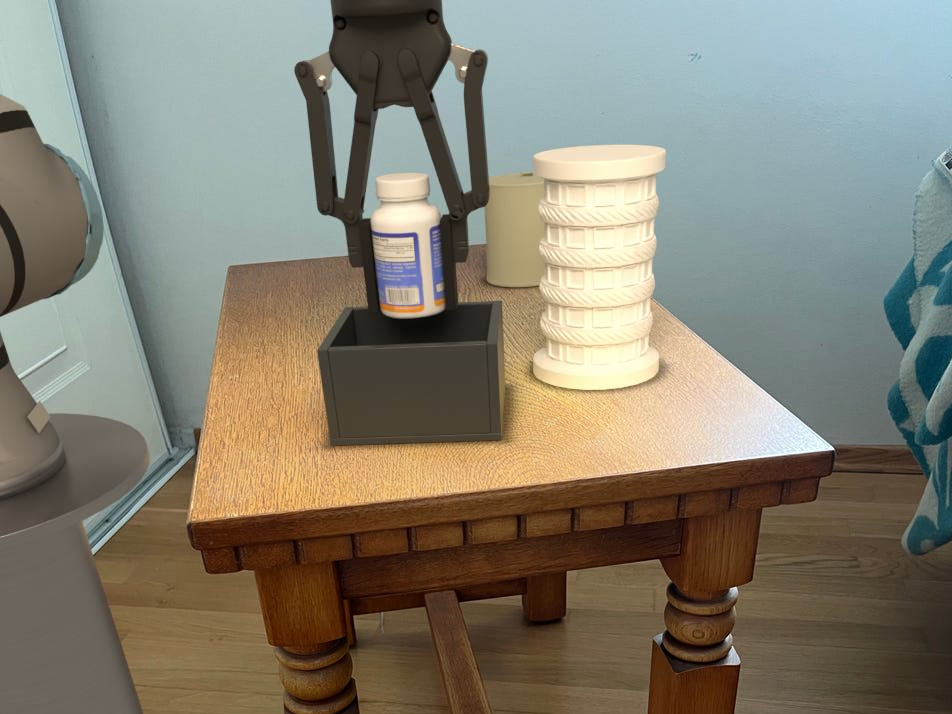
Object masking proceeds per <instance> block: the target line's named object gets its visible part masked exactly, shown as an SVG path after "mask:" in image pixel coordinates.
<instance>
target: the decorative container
mask: <svg viewBox="0 0 952 714" xmlns="http://www.w3.org/2000/svg"><path fill="white" fill-rule="evenodd" d="M666 157H667V151H666V148H663V147H661V146H656V145H648V144H647V145H646V144H625V143H624V144H593V145H592V144H591V145H579V146H577V145H576V146H570V147H561V148H553V149H549V150H544V151H539V152H537V153H535V154H534V155H533V157H532V162H533V163H532V165H533V166H532V167H533V173H534V174H535V175H536V176H538V177H541V178H544V197H543V198H541V199H540V202H539V206H538V211H539V215H540V219H541V220H542V221H544V229H545V236H544V237H543V238H541V241H540V245H539V252H540V258H541V259H542V260H543V261H544V262H545V275H544V276H542V278H541V282H540V286H538V287H539V292H540V297H541V298H542V299H543V300H544V301H545V302H544V303H545V304H544V306H545V308H544V309H545V310H544V311H543V312H542V313H541V317H540V321H539V327H540V330H541V334H542V335H543V336H544V338H545V346H543V347H541V348H540V349H538V350H537V351H536V352H535V353H534V354H533V358H532V371H533V372H532V373H533V374H534V376H535V378H537V379H538V380H539V381H541V382H542V383H545V384H548V385H551V386H554V387H558V388H563V389H570V390H583V391H604V390H612V389H613V390H615V389H622V388H626V387H627V388H628V387H631V386H636V385H640V384H643V383H644V382H647V381H649V380H650V379H652V378H654V377H656V375H657V374H658V372H659V371H660V370H659V368H660V352H659V351H658V350H657V349H656V348H655V347H653V346H651V345H649V343H650V341H649V339H650V333H651V331H652V329H653V324H654V316H653V311H652V310H651V301H652V298H651V297H652V295H653V294H654V290H655V287H656V280H655V275H654V273H653V257H654V256H656V251H657V249H658V241H657V236H656V234H655V217H656V216H658V211H659V208H660V201H659V196H658V193H657V175H658V173H660V172H662V171H664V170H665V169H666Z"/></svg>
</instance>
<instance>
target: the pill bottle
mask: <svg viewBox="0 0 952 714" xmlns="http://www.w3.org/2000/svg"><path fill="white" fill-rule="evenodd" d="M430 192H431V185H430V177H429V175H428V174H427V173H424V172H398V173H397V172H396V173H389V174H383V175H380V176H377V177H376V178H375V196H376V198H377V200H378V201H380V206H379V207H378V208H376V209H375V210H374V211H373V212H372V214H371V215H370V218H371V219H370V222H371V233H372V242H373V250H374V259H375V268H376V277H377V286H378V295H379V303H380V309H381V312H382V313H383V314H384V315H386V316H388V317H391V318H397V319H412V318H422V317H428V316H432V315H436V314H439V313H441V312H442V311H444V310H445V308H446V299H445V285H444V271H443V257H442V243H441V229H440V220H441V217H442V215H441V212H440V210H439V209H438V208H437V207H436V206H435V205H433V204H431V203H429V201H428V198H429V197H430V195H431V193H430Z"/></svg>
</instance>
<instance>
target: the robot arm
mask: <svg viewBox="0 0 952 714" xmlns="http://www.w3.org/2000/svg"><path fill="white" fill-rule="evenodd" d="M329 1H330V9H331V18H332V35H331V39H330V42H329V45H328V50H327V51H326V52H324V53H322V54H319V55H318V56H316V57H313V58H311V59H306V60H301V61H298V62H297V63H296V64H295V66H294V70H293V71H294V75H295V78H296V80H297V83H298V85H299V87H300V90H301V93H302V94H303V97H304V99H305V103H306V113H307V122H308V132H309V133H308V134H309V143H310V152H311V160H312V161H311V162H312V170H313V180H314V181H313V182H314V188H315V189H314V190H315V201H316V207H317V211H318V212H319V214H321V215H322V216H325V217H327V216H329V217H332V218H335V219H338V220H339V221H340V222H341V223H342V224H343V226H344V232H345V239H346V246H347V255H348V262H349V264H350V266H351V268H352V269H353V268H356V269H357V268H362V269H363V278H364V285H365V295H366V302H367V306H368V312H369V314H378V313H379V311H380V303H379V295H378V286H377V277H376V268H375V259H374V250H373V242H372V233H371V222H370V219H371V217H365V218H364V217H363V214H364V212H365V208H364V207H365V206H364V205H365V201H366V194H367V188H368V179H369V174H370V166H371V160H372V152H373V146H374V145H373V144H374V137H375V130H376V124H377V120H378V115H379V110H383V109H386V108H389V107H392V106H397V107H402V108H413V110H414V113H415V116H416V118H417V121H418V123H419V126H420V128H421V131H422V134H423V138H424V140H425V143H426V147H427V149H428V152H429V155H430V159H431V162H432V165H433V167H434V171H435V174H436V177H437V179H438V183H439V185H440V186H439V187H440V189H441V192H442V195H443V198H444V201H445V204H446V206H447V207H446V208H447V210H448V213H447V214H445V213H444V214H442V215H441V220H440V229H441V243H442V257H443V271H444V285H445V299H446V311H451V310H456V308H457V304H458V302H459V293H458V292H459V291H458V277H457V263H466V262H467V260H468V258H469V254H470V243H469V241H470V240H469V225H468V217H469V215H470V214H471V213H472V212H474V211H476V210H478V209H482V208H485V206H486V205H487V203H488V201H489V197H490V187H489V177H490V176H489V174H490V173H489V163H488V162H489V161H488V153H487V152H488V150H487V137H486V124H485V111H484V110H485V109H484V98H483V97H484V95H483V85H484V81H485V76H486V74H487V73H486V72H487V68H488V64H489V56H488V53H487V52H486V51H485V50H483V49H476V50H475V49H471V48H469V47H466V46H462V45H459V44H456V43H453V41H452V37H451V36H450V34H449V32H448V30H447V28H446V24H445V22H444V13H443V0H329ZM448 61H450V62H451V63H452V64H453V66H454V71H455V72H454V73H455V78H456V80H457V81H458V82H459V83H461V84H463V105H464V107H463V108H464V119H465V130H466V140H467V153H468V162H469V163H468V164H469V175H470V177H469V178H470V187H471V190H468V191H466V192H464V190H463V186H462V183H461V180H460V178H459V177H460V176H459V175H458V174H459V173H458V171H457V168H456V163H455V161H454V159H453V155H452V152H451V149H450V146H449V142H448V139H447V136H446V134H445V130H444V127H443V123H442V120H441V118H440V114H439V110H438V106H437V102H436V100H435V96H434V94H433V93H434V92H433V89H434V88H435V86H436V84H437V82H438V80H439V78H440V76H441V75H442V73H443V70H444V69H445V67H446V65H447V63H448ZM335 69H336V70H337V71H338V73H339V74H340V75H341V77H342V78H343V80H344V81H345V82H346V84H348V86H349V87H350V88H351V90H352V91H353V93H354V94H355V95H356V98H355V107H354V114H353V115H354V116H353V129H352V136H351V144H350V150H349V151H350V152H349V158H348V159H349V160H348V168H347V176H346V182H345V189H344V197H340V196H339V191H338V190H339V188H338V178H337V167H336V158H335V157H336V156H335V147H334V136H333V135H334V133H333V124H332V114H331V103H330V97H329V93H328V91H329V90H330V89H331V88H332V86H333V71H334V70H335ZM103 240H104V217H103V211H102V206H101V202H100V200H99V196H98V194H97V192H96V189H95V187H94V185H93V183H92V181H91V180H90V178H89V177H88V175H87V173H86V172H85V171H84V169H83V168H82V167H81V166H80V164H78V163H77V161H75V160H74V158H72V156H69V155H65V154H64V153H63V152H62V151H61V150H60V149H59V148H57V147H55V146H53V145H51V144H49V143H44V141H43V140H42V138H41V136H40V133H39V131H38V130H37V128H36V126H35V124H34V122H33V120H32V118H31V116H30V114H29V111H28V110H27V108H26V107H25V106H24V105H23V104H20V103H19V102H17V101H15V100H13V99H11V98H9V97H7V96H6V95H4V94H1V93H0V318H1V317H3V316H6V315H9V314H11V313H13V312H16V311H18V310H20V309H23V308H25V307H27V306H30V305H32V304H34V303H37V302H39V301H42V300H47V299H51V298H52V297H55V296H57V295H58V296H59V295H61V294H63V293H64V292H66V291H68V289H69V288H70V287H71V286H73V285H75V284H77V283H79V282H80V281H81V280H83V279H84V278H85V277H86V276H87V275H88V274H89V273H90V272H91V270H92V269H93V268H94V266H95V265H96V263H97V261H98V259H99V255H100V250H101V248H102V245H103V242H104V241H103ZM49 414H50V413H49V412H48V410H47V409H46V408H45V406H44V405H43V403H42V402H41V400H39V401H38V402H37V401H36V400H35V397H33V396H32V394H31V393H30V391H29V390H28V389H27V387H26V386H25V384H24V383H23V382H22V380H21V378H20V377H19V376H18V374H17V373H16V372H15V370H14V367H13V365H12V363H11V360H10V357H9V353H8V350H7V348H6V345H5V342H4V339H3V335H2V331H0V501H1V500H4V499H7V498H9V497H12V496H15V495H17V494H20V493H22V492H25V491H27V490H29V489H31V488H33V487H35V486H37V485H39V484H41V483H42V482H44V481H46V480H47V479H49V478H50V477H51V476H53V475H54V474H55V473H56V472H57V471H58V470H59V469H60V468H61V467H62V465H63V464H64V462H65V458H66V457H65V452H64V449H63V446H62V443H61V440H60V437H59V435H58V434H57V432H56V430H55V428H54V426H53V425H52V424H51V423H50V422H49V418H50V415H49Z"/></svg>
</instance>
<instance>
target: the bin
mask: <svg viewBox="0 0 952 714" xmlns="http://www.w3.org/2000/svg"><path fill="white" fill-rule="evenodd" d="M503 314H504V313H503V300H484V301H483V300H482V301H480V300H479V301H460V302H459V301H458V304H457V308H456V310H451V311H446V308H445V310H444V311H442V312H441V313H439V314H436V315H432V316H428V317H422V318H412V319H397V318H391V317H388V316H386V315H384V314H383V313H382V312H381V309H380V311H379V313H378V314H369V312H368V305H365V306H345V307H344V308H343V310H342V311H341V312H340V314H339V316H338V317H337V319H336V321H335V322H334V323H333V325H332V326H331V328H330V329H329V331H328V333H327V335H326V336H325V337H324V339H323V341H322V342H321V343H320V345H319V346H318V348H317V349H316V354H317V360H318V366H319V374H320V381H321V387H322V394H323V400H324V406H325V407H324V408H325V414H326V421H327V427H328V435H329V440H330V445H331V446H335V447H336V446H361V445H364V446H365V445H366V446H367V445H392V444H395V445H397V444H421V443H422V444H424V443H453V442H483V441H484V442H488V441H502V439H503V424H504V411H505V410H504V409H505V396H506V369H505V366H506V365H505V343H504V342H505V341H504V339H505V338H504V317H503V316H504V315H503Z"/></svg>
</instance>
